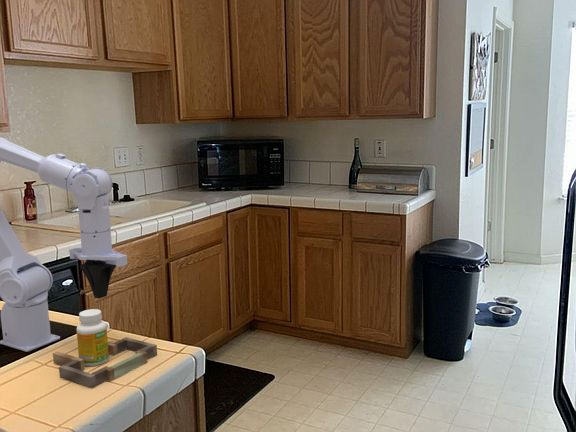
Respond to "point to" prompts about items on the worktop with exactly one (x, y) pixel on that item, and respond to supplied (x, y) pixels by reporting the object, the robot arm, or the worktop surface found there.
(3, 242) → the robot arm
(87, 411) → the worktop surface
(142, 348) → the grey flat frame
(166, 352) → the worktop surface
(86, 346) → the supplement bottle
